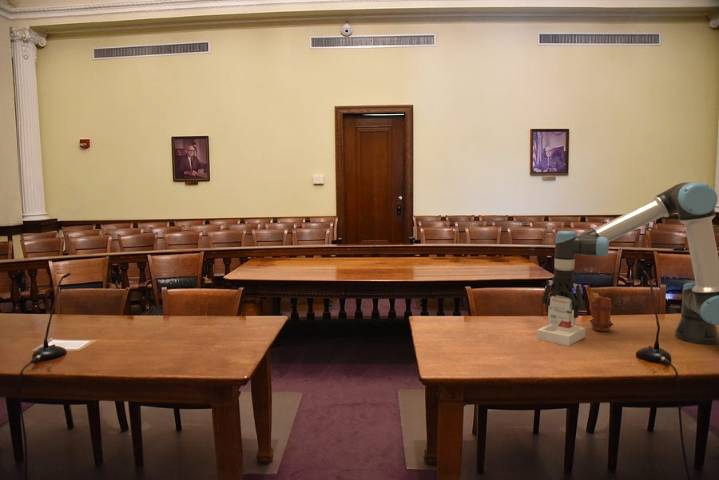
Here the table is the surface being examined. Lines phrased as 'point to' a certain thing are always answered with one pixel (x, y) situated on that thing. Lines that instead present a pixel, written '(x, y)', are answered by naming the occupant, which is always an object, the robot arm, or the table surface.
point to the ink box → (560, 311)
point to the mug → (600, 312)
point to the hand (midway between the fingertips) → (561, 323)
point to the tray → (561, 334)
